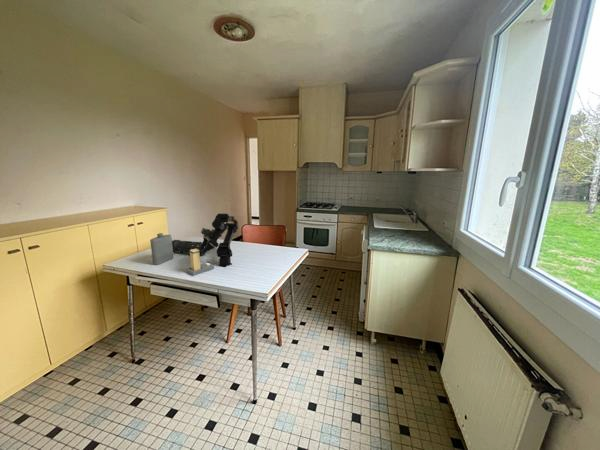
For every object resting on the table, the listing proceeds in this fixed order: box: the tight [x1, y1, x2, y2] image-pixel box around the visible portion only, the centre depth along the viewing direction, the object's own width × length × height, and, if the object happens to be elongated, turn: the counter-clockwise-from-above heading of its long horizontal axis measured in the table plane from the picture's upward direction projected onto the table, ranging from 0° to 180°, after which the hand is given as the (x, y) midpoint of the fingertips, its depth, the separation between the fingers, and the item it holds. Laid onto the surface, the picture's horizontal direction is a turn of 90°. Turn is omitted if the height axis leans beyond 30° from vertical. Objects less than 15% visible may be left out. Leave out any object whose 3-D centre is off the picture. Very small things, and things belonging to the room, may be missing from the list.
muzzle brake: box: [172, 239, 207, 256], centre depth 175 cm, size 10×28×10 cm, turn 78°
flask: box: [150, 232, 174, 266], centre depth 158 cm, size 15×6×20 cm, turn 163°
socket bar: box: [186, 262, 215, 277], centre depth 146 cm, size 14×8×3 cm, turn 143°
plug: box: [189, 249, 201, 271], centre depth 143 cm, size 4×4×14 cm
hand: (201, 250), depth 143 cm, fingers open, 9 cm apart
